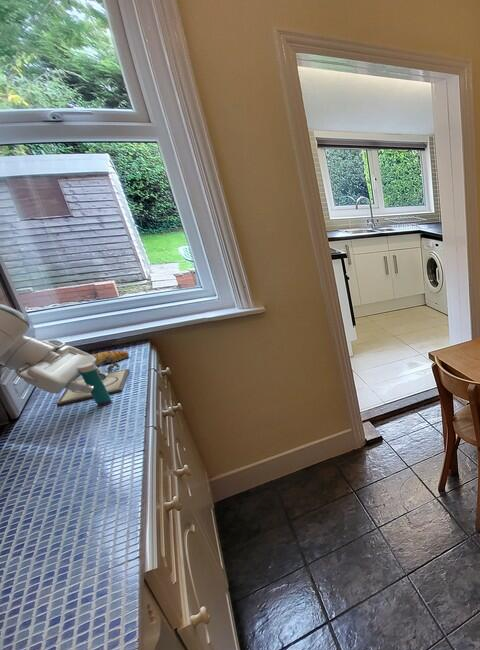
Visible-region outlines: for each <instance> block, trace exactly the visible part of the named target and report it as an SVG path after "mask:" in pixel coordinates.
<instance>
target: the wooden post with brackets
mask: <svg viewBox="0 0 480 650" xmlns="http://www.w3.org/2000/svg"><path fill="white" fill-rule="evenodd" d="M112 359H113V357H112V356H111V357H106V359H105V361H102V362H101V363H99V364H98V365H96V364H95V366H97V367H98V368H99V367H102V366H103V365H105V364H112V365H109V366H108V367H107V368H106V369H107V370H109V371H111V370H112V369H114V368H115V367H116V368H120V364H118V363H117V362H116V361H115V362H114V361H113V360H112ZM108 361H110V362H108ZM106 362H108V363H106Z"/></svg>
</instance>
